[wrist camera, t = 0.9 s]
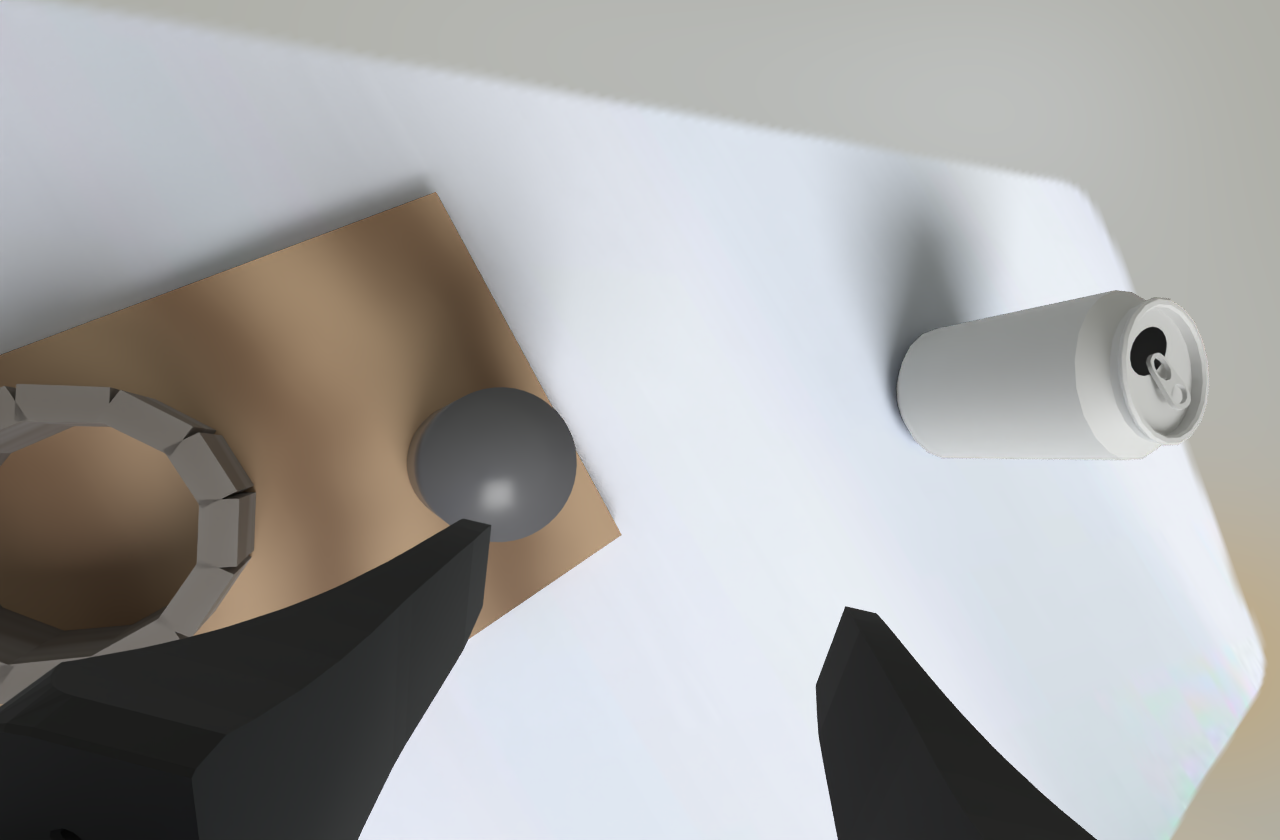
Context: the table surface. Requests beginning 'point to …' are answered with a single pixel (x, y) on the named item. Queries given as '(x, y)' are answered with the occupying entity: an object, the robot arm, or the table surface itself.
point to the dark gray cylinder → (494, 462)
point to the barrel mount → (251, 445)
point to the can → (1058, 382)
